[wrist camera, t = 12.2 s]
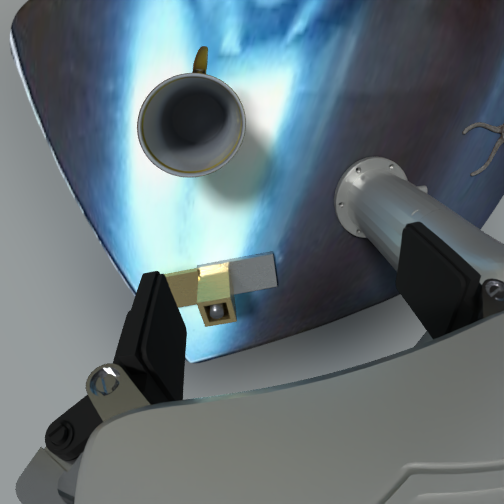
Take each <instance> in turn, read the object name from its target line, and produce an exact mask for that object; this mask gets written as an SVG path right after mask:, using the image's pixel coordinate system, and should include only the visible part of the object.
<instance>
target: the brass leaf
mask: <svg viewBox="0 0 504 504" xmlns="http://www.w3.org/2000/svg"><path fill="white" fill-rule="evenodd" d="M164 275H165V277H166V279H167V282H168V284H169V287H170V289H171V292H172V294H173V297H174V299H175V302H176V304H177V307H183V306H189V305H195V304H197V305H198V308H199V311H200V313H201V316H202V319H203V322H204V324H205V327H207V326H213V325H219V324H225V323H231V322H236V321H237V318H236V308H235V297H234V289H233V285H232V281H231V277H230V273H229V269H228V267H225V268H220V269H214V270H209V271H204V272H199V271H198V268H195V269H190V270H184V271H179V272H174V273H169V274H164ZM219 303H223V310H224V315H223V317H222V318H220V319H214V318H212V317H211V316H210V305H213V304H219Z"/></svg>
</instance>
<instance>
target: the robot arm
mask: <svg viewBox="0 0 504 504" xmlns="http://www.w3.org/2000/svg"><path fill="white" fill-rule="evenodd" d="M356 168H357V170H356ZM339 203H340V204H339ZM334 207H335V213H336V215H337V218H338V220H339V221H340V223H341V224H342V226H343V227H344V228H345V229H346V230H347V231H348V232H350V233H351V234H353V235H355V236H357V237H362V238H368V239H369V240H370V241H371V242H372V244H373V245H374V246H375V247H376V248H377V249H378V250H379V251H380V253H381V254H382V255H383V256H384V257H385V258H386V260H387V261H388V262H389V263H390V264H391V266H392V267H393V268H394V269H395V270H396V271H397V276H396V288H397V290H398V291H399V293H400V294H401V295H402V297H403V298H404V299H405V301H406V302H407V303H408V305H409V306H410V307H411V309H412V310H413V312H414V313H415V314H416V316H417V317H418V319H419V320H420V321H421V323H422V324H423V326H424V327H425V329H426V330H427V331H426V333H425V334H424V335H423V336H422V338H421V339H420V340H419V341H418V343H417V344H416V345H415V346H414V347H413V348H410V349H407V350H405V351H402V352H399V353H396V354H393V355H390V356H387V357H384V358H381V359H378V360H375V361H372V362H369V363H365V364H362V365H358V366H355V367H352V368H348V369H345V370H341V371H337V372H334V373H330V374H326V375H322V376H318V377H314V378H310V379H305V380H301V381H297V382H292V383H288V384H283V385H278V386H273V387H268V388H262V389H256V390H250V391H244V392H238V393H232V394H225V395H218V396H211V397H204V398H195V399H187V400H183V383H184V382H183V381H184V366H185V351H186V337H187V331H186V326H185V324H184V321H183V319H182V317H181V314H180V312H179V309H178V307H177V304H176V302H175V299H174V297H173V294H172V292H171V289H170V287H169V284H168V282H167V279H166V277H165V275H164V274H160V273H159V272H158V271H155V272H149V273H144V274H143V275H142V278H141V281H140V284H139V287H138V290H137V293H136V296H135V299H134V302H133V305H132V309H131V310H130V311H129V312H128V314H127V317H126V320H125V323H124V326H123V329H122V333H121V337H120V340H119V343H118V347H117V350H116V354H115V357H114V361H113V364H110V363H108V364H104V365H101V366H99V367H97V368H96V369H95V370H94V371H92V372H91V374H90V375H89V377H88V379H87V382H86V391H87V394H88V395H87V396H85V397H84V398H83V399H81V400H80V401H79V402H78V403H76V404H75V405H74V406H73V407H71V408H70V409H69V410H68V411H66V412H65V413H64V414H62V415H61V416H60V417H59V418H57V419H56V420H55V421H54V422H52V424H51V425H50V426H49V427H48V429H47V431H46V435H45V443H46V447H45V449H43V448H42V447H40V449H39V450H38V452H37V453H36V455H35V456H34V457H33V459H32V460H31V462H30V463H29V464H28V466H27V467H26V468H25V470H24V471H23V473H22V474H21V476H20V477H19V479H18V481H17V483H16V494H17V497H18V498H19V500H20V501H21V503H22V504H504V244H503V243H501V242H499V241H497V240H496V239H494V238H492V237H491V236H489V235H487V234H485V233H484V232H483V231H481V230H480V229H478V228H477V227H475V226H474V225H473V224H471V223H470V222H468V221H467V220H465V219H464V218H462V217H461V216H459V215H458V214H457V213H455V212H454V211H452V210H451V209H449V208H448V207H446V206H445V205H443V204H442V203H440V202H439V201H437V200H436V199H434V198H433V197H431V196H430V195H428V194H427V187H426V186H418V187H416V186H415V185H413V184H411V183H410V182H408V180H407V177H406V175H405V173H404V172H403V170H402V169H401V168H400V167H399V166H398V165H397V164H396V163H394V162H393V161H391V160H389V159H386V158H384V157H377V156H375V157H367V158H364V159H361V160H359V161H358V162H356V163H354V164H353V165H352V166H351V167H349V168H348V169H347V170H346V172H345V173H344V174H343V175H342V177H341V179H340V180H339V182H338V185H337V188H336V191H335V196H334Z"/></svg>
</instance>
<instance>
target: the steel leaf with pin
mask: <svg viewBox="0 0 504 504" xmlns="http://www.w3.org/2000/svg"><path fill="white" fill-rule="evenodd" d="M225 267H228V269H229V273H230V277H231V281H232V285H233V289H234V294H240V293H245V292H250V291H256V290H261V289H266V288H271V287H276V286H277V281H276V273H275V266H274V258H273V253H272V251H270V252H265V253H260V254H255V255H249V256H244V257H239V258H233V259H228V260H223V261H218V262H212V263H207V264H202V265H197V268H198V271H199V272H204V271H209V270H214V269H220V268H225ZM223 315H224V310H223V303H219V304H213V305H210V316H211V317H212V318H214V319H220V318H222V317H223Z"/></svg>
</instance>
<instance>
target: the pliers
mask: <svg viewBox="0 0 504 504" xmlns="http://www.w3.org/2000/svg"><path fill="white" fill-rule="evenodd" d="M475 127H484V128H486V129H489V130H491V131H493V132H496V133H501V137H500V138H499V139H498V141H497V142H496V144H495V146H494V148H493V150H492V153H491V155H490V156H489V158H488V160H487V162H486V163H485V164H484V165H483V166H482V167H481V168H480V169H479V170H477V171H475V172H472V173H471V174H470V175H471V176H474V175H477V174H479V173H480V172H482V171H483V170H484V169H485V168H486V167H487V166H488V165H489V164H490V162H491V161H492V159H493V157H494V155H495V153H496V151H497V150H498V148H499V146H500V145H501V144H502V143H504V124H503V125H501V126H498V127H495V126H491V125H488V124H485V123H481V122H480V123H474V124H472V125H470V126H468V127H467V128H466V129H465V130H464V131H463V134H466V133H467V132H468V131H469V130H471V129H472V128H475Z"/></svg>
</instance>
